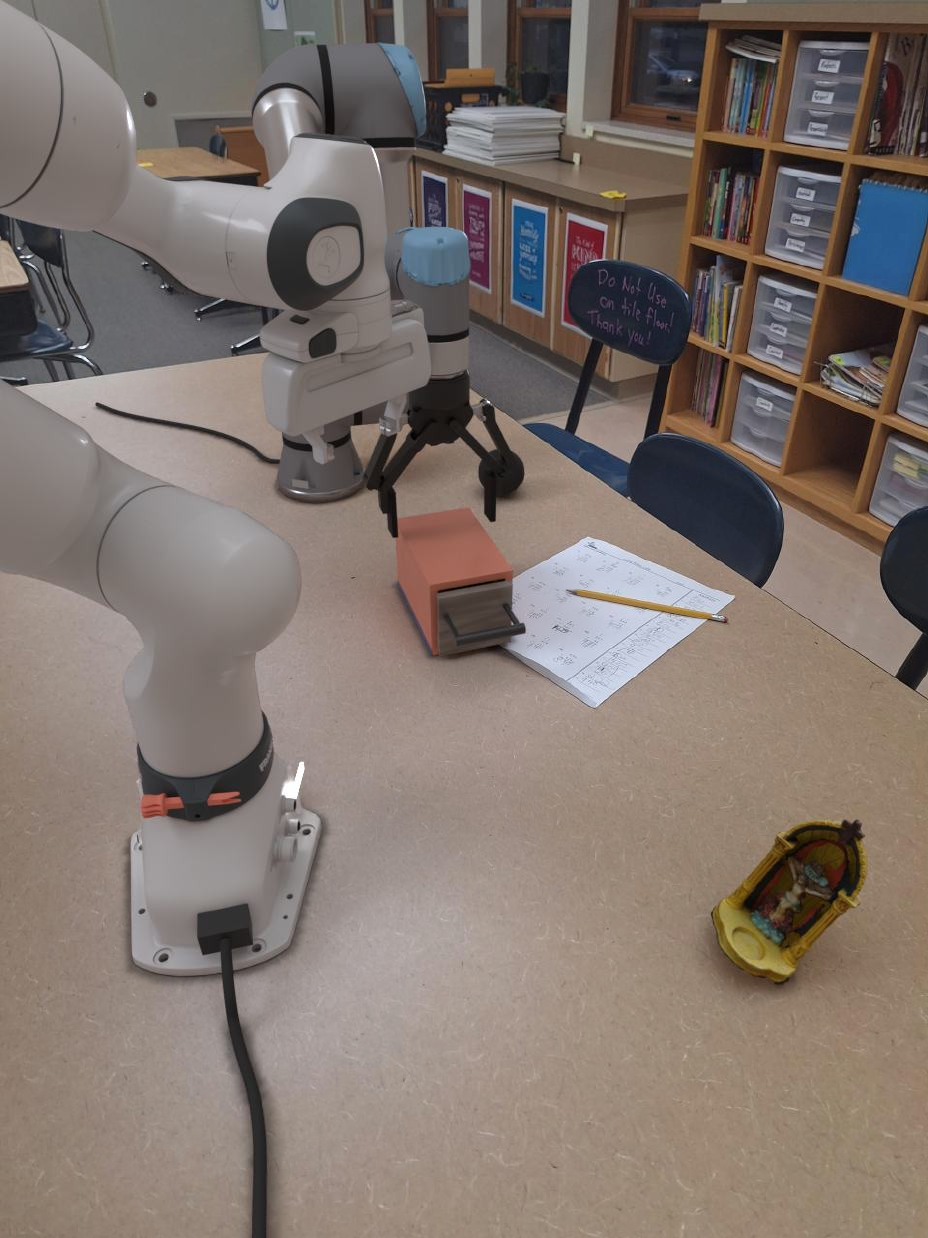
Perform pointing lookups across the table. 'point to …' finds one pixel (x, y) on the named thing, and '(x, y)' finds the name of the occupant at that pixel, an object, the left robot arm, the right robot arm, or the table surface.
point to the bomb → (512, 475)
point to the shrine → (792, 897)
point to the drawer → (475, 617)
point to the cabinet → (443, 562)
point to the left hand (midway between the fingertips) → (358, 446)
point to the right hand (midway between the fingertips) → (442, 525)
